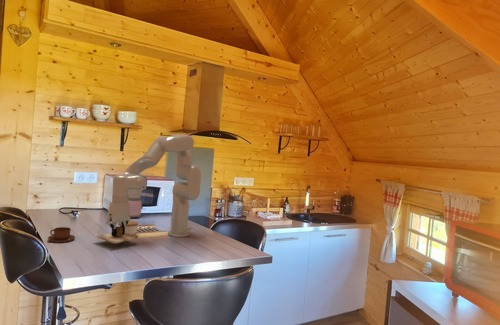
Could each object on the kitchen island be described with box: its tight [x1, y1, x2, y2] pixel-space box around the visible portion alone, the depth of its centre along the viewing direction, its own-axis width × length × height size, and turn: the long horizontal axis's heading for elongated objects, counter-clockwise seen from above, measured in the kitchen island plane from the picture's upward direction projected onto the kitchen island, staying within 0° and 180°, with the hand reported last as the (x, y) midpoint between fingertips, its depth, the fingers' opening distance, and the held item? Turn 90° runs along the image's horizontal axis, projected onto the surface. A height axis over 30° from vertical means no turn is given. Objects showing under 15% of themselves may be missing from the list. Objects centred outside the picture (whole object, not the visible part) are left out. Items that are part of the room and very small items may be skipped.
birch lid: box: [96, 226, 139, 244], centre depth 175 cm, size 14×14×5 cm
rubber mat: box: [92, 240, 139, 252], centre depth 175 cm, size 16×16×1 cm
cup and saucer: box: [47, 226, 76, 243], centre depth 173 cm, size 12×12×6 cm
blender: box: [128, 173, 148, 219], centre depth 242 cm, size 16×12×32 cm
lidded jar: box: [117, 219, 139, 235], centre depth 193 cm, size 11×11×9 cm
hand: (118, 234), depth 175 cm, fingers closed on birch lid, 4 cm apart
